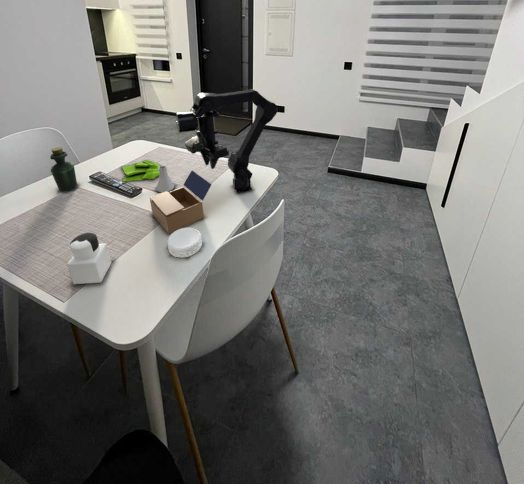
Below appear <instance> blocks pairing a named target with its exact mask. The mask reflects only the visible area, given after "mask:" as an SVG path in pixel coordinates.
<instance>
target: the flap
mask: <svg viewBox="0 0 524 484" xmlns="http://www.w3.org/2000/svg"><path fill="white" fill-rule="evenodd" d="M183 187H185V188H186V189H187V190H188V191H189V192H191V193H192V194H193V195H194V196H195V197H197V198H198V199H199V200H200V201H201V202H202V201H204V199H205V197H206V196H207V194H208V192H209V191H210V189H211V187H212V183H211V182H209V180H206V179H205V178H204V177H202V176H201V175H200V174H198V173H197V172H195V170H193V169H192V170H191V171H190V173H189V174H188V176H187V178H186V179H185V181H184V183H183Z"/></svg>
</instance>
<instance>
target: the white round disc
mask: <svg viewBox="0 0 524 484" xmlns="http://www.w3.org/2000/svg"><path fill="white" fill-rule="evenodd" d="M202 244H203V240H202V233H201V232H200V231H199V230H198V229H197V228H194V227H183V228H181V229H179V230H176V231H174V232H172V233H170V234H169V236H168V238H167V248H168V252H169V254H170V255H172V256H173V257H175V258H182V259H183V258H188V257H191V256H193V255H195V254H196V253H198V251H199V250H200V249H201V247H202Z"/></svg>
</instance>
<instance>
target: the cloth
mask: <svg viewBox="0 0 524 484" xmlns="http://www.w3.org/2000/svg"><path fill="white" fill-rule="evenodd" d="M160 166H161V165H160V164H158V163H157V162H154V161H151V160H147V159H144V160H143V161H142V162H141V161H140V162H135V163H134V164H130V165H126V166H122V167H121V168H122V170H123V173H124V174H125V177H124V178H122V182H135V181H136V182H137V181H146V180H155V179H156V178H159V174H160V172H159V169H158V168H159V167H160Z"/></svg>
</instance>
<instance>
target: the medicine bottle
mask: <svg viewBox="0 0 524 484" xmlns="http://www.w3.org/2000/svg"><path fill="white" fill-rule="evenodd" d="M69 246H70V247H69V248H70V250H71V254H72V256H71V258H70V259H69V260H68V261H67V263H66V266H67V269H68V272H69V275H70V279H71V282H72V284H73V285H82V284H83V285H84V284H97V283H98V284H99V283H102V282H103V280H104V278H105V276H106V274H107V272H108V270H109V269H110V266H111V265H112V259H111V254H110V251H109V248H108V244H107V243H100V242H99V239H98V235H97V234H96V233H93V232H84V233H81V234H79V235H77V236H75V237H74V238H73V239H72V240H71V241H70V244H69Z"/></svg>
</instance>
